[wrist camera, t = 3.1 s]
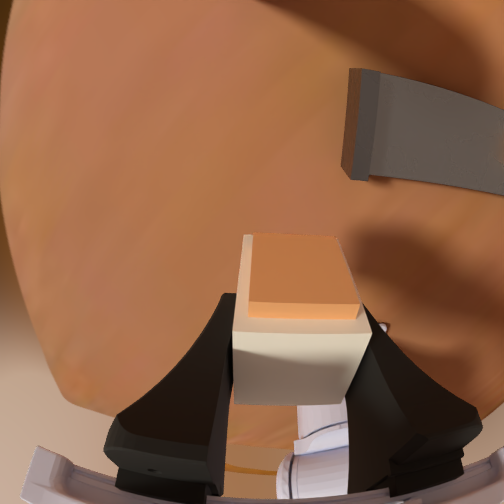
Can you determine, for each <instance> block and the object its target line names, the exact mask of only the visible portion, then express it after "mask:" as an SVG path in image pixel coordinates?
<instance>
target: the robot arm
mask: <svg viewBox="0 0 504 504" xmlns="http://www.w3.org/2000/svg"><path fill="white" fill-rule="evenodd" d="M236 296H237V294H236V293H224V294H223V295H222V296H221V299H220V301H219V303H218V305H217V307H216V309H215V311H214V313H213V315H212V317H211V318H210V320H209V322H208V323H207V325H206V326H205V328H204V330H203V331H202V333H201V334H200V336H199V337H198V338H197V340H196V341H195V343H194V344H193V345H192V347H191V348H190V349H189V351H188V352H187V353H186V354H185V356H184V357H183V358H182V359H181V360H180V361H179V362H178V364H177V365H176V366H175V367H174V368H173V369H172V370H171V371H170V372H169V373H168V374H167V375H166V376H165V377H164V378H163V379H162V380H161V381H160V382H159V383H158V384H157V385H155V386H154V387H153V388H152V389H151V390H150V391H148V392H147V393H146V394H145V395H144V396H142V397H141V398H140V399H139V400H137V401H136V402H134V403H133V404H132V405H130V406H129V407H127V408H126V409H124V410H123V411H122V412H120V413H119V414H117V415H116V417H115V419H114V421H113V423H112V425H111V428H110V429H109V432H108V435H107V438H106V442H105V445H104V453H105V454H106V456H107V457H108V458H109V459H110V460H111V461H112V462H114V463H115V464H116V465H117V466H118V467H119V469H118V474H117V478H115V477H111V476H108V475H104V474H101V473H98V472H95V471H91V470H89V469H85V468H83V467H80V466H77V465H74V464H73V463H72V462H71V461H70V460H69V459H67V458H66V457H64V456H62V455H60V454H57V453H55V452H52V451H50V450H47V449H45V448H43V447H40V446H36V449H35V451H34V454H33V457H32V460H31V462H30V466H29V468H28V471H27V475H26V478H25V481H24V484H23V487H22V491H21V494H20V498H21V499H22V500H24V501H26V502H28V503H29V504H501V503H502V502H504V446H503V447H501V448H500V449H498V450H497V451H495V452H494V453H492V454H491V455H490V456H489V457H487V458H485V459H482V460H480V461H477V462H474V463H472V464H469V465H466V466H464V467H463V466H462V462H461V458H462V457H463V456H464V452H463V447H464V446H466V445H467V444H468V443H469V442H471V441H472V440H473V439H474V438H475V437H477V436H478V435H479V434H480V432H481V431H482V428H483V425H482V422H481V420H480V417H479V414H478V411H477V409H476V407H474V406H472V405H471V404H469V403H467V402H465V401H464V400H462V399H460V398H458V397H457V396H455V395H454V394H452V393H451V392H449V391H448V390H446V389H445V388H443V387H442V386H441V385H439V384H438V383H436V382H435V381H434V380H433V379H431V378H430V377H429V376H428V375H427V374H425V373H424V372H423V371H422V370H421V369H420V368H418V367H417V366H416V365H415V364H414V363H413V362H412V361H411V360H410V359H409V358H408V357H407V356H406V355H405V354H404V353H403V352H402V351H401V350H400V349H399V347H398V346H397V345H396V344H395V343H394V342H393V341H392V340H391V338H390V337H389V336H388V335H387V334H386V330H387V327H386V325H385V324H378V322H377V321H376V320H375V319H374V317H373V316H372V315H371V313H370V312H369V311H368V309H367V308H366V307H365V306H364V304H363V303H362V304H363V307H364V310H365V313H366V316H367V319H368V322H369V325H370V328H371V331H372V335H371V338H370V340H369V343H368V345H367V348H366V350H365V352H364V355H363V357H362V359H361V362H360V364H359V366H358V368H357V371H356V373H355V375H354V377H353V379H352V382H351V384H350V386H349V388H348V390H347V392H346V394H345V396H344V398H343V400H342V402H341V404H334V405H302V406H297V414H298V434H299V439H300V440H295V441H294V452H291V453H288V454H287V455H286V456H285V457H284V460H283V461H282V462H281V464H280V465H279V468H278V472H277V482H276V489H277V499H247V498H245V499H244V498H230V497H220V496H222V495H223V491H224V472H225V456H226V441H227V427H228V414H229V404H230V397H231V392H232V387H233V381H234V379H233V337H232V330H233V322H234V313H235V305H236Z"/></svg>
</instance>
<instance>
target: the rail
mask: <svg viewBox="0 0 504 504" xmlns="http://www.w3.org/2000/svg"><path fill="white" fill-rule="evenodd" d="M341 167H342V169H343V170H344V171H345V173H346V174H347V175H348V177H349V178H350V180H360V181H368V177H369V175H377V176H386V177H395V178H403V179H410V180H418V181H425V182H432V183H438V184H445V185H451V186H457V187H463V188H468V189H474V190H479V191H484V192H489V193H494V194H499V195H504V110H502V109H500V108H498V107H495V106H493V105H490V104H487V103H485V102H482V101H479V100H477V99H474V98H471V97H468V96H465V95H462V94H459V93H456V92H453V91H450V90H447V89H444V88H440V87H437V86H433V85H430V84H426V83H422V82H418V81H415V80H410V79H406V78H402V77H398V76H393V75H388V74H383V73H381V72H379V71H373V70H368V69H362V68H349V83H348V97H347V110H346V121H345V132H344V141H343V151H342V159H341Z"/></svg>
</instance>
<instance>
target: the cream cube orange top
mask: <svg viewBox="0 0 504 504" xmlns="http://www.w3.org/2000/svg"><path fill="white" fill-rule="evenodd" d="M371 335H372V331H371V328H370V325H369V322H368V319H367V316H366V313H365V310H364V307H363V304H362V301H361V299H360V296H359V293H358V290H357V287H356V285H355V282H354V279H353V277H352V274H351V271H350V268H349V266H348V263H347V261H346V258H345V255H344V253H343V250H342V248H341V245H340V243H339V240H338V239H336V237H335V236H317V235H298V234H277V233H255V232H253V235H244V238H243V246H242V254H241V262H240V271H239V279H238V288H237V296H236V305H235V313H234V322H233V330H232V337H233V379H234V404H247V405H279V406H302V405H334V404H341V402H342V400H343V398H344V396H345V394H346V392H347V390H348V388H349V386H350V384H351V382H352V379H353V377H354V375H355V373H356V371H357V368H358V366H359V364H360V362H361V359H362V357H363V355H364V352H365V350H366V348H367V345H368V343H369V340H370V338H371Z"/></svg>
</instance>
